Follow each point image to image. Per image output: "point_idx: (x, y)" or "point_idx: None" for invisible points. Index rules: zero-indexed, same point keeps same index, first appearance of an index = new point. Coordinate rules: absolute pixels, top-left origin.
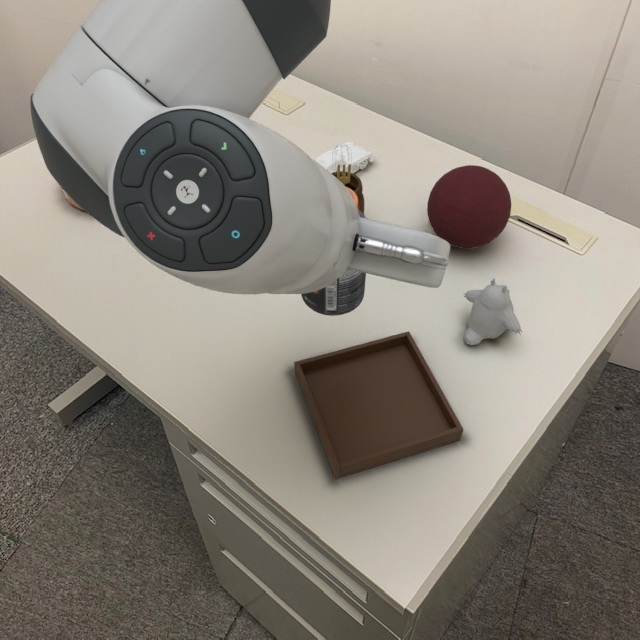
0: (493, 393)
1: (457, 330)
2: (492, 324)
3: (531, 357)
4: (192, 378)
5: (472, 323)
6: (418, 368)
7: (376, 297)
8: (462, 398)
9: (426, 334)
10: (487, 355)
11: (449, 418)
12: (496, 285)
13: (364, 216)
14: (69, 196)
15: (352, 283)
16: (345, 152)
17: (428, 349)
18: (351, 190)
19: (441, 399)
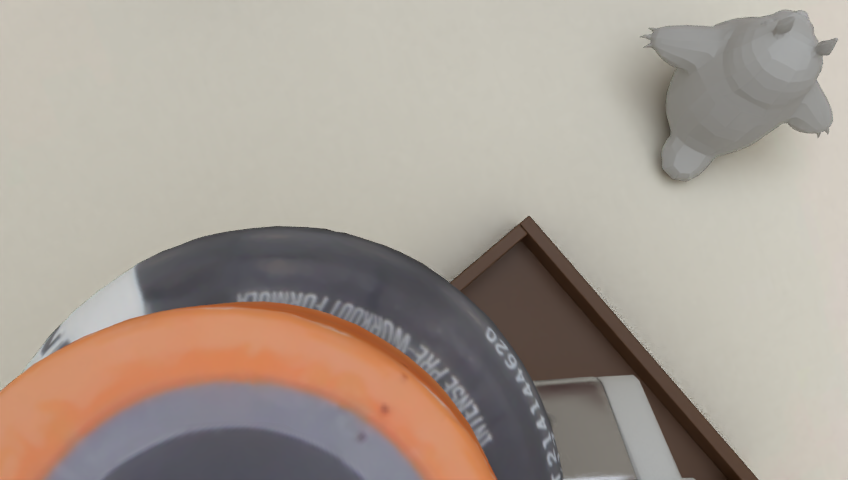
0: (772, 305)
1: (630, 134)
2: (761, 135)
3: (827, 157)
4: None
5: (692, 134)
6: (579, 308)
7: (385, 95)
8: (706, 350)
9: (558, 177)
10: (725, 190)
11: (714, 456)
12: (790, 31)
13: (498, 355)
14: None
15: None
16: None
17: (578, 225)
18: (368, 367)
19: (685, 416)
